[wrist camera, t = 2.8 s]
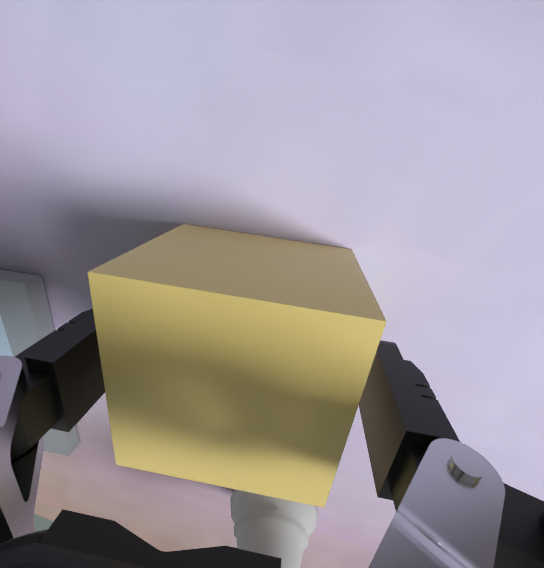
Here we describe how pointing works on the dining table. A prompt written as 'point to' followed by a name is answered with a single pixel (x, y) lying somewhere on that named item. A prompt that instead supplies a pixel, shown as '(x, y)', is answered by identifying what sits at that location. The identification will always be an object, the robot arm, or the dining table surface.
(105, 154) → the dining table surface
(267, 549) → the rook chess piece
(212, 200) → the dining table surface
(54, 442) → the baseplate
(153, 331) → the mustard block
